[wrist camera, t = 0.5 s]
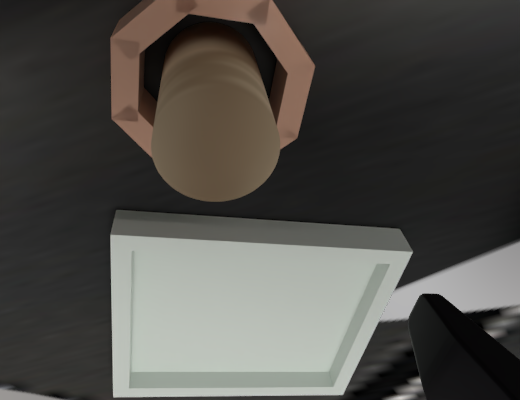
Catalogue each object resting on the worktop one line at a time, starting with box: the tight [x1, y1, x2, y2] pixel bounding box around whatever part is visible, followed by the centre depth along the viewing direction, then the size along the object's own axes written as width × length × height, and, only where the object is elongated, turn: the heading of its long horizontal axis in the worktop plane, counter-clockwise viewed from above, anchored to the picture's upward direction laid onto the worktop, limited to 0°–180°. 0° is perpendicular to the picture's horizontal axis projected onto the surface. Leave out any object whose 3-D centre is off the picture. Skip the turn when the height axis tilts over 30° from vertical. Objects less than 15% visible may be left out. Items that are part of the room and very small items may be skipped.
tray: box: [110, 210, 413, 397], centre depth 28 cm, size 16×14×2 cm
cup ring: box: [110, 0, 315, 157], centre depth 19 cm, size 8×8×2 cm
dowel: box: [151, 22, 280, 202], centre depth 17 cm, size 4×4×7 cm
